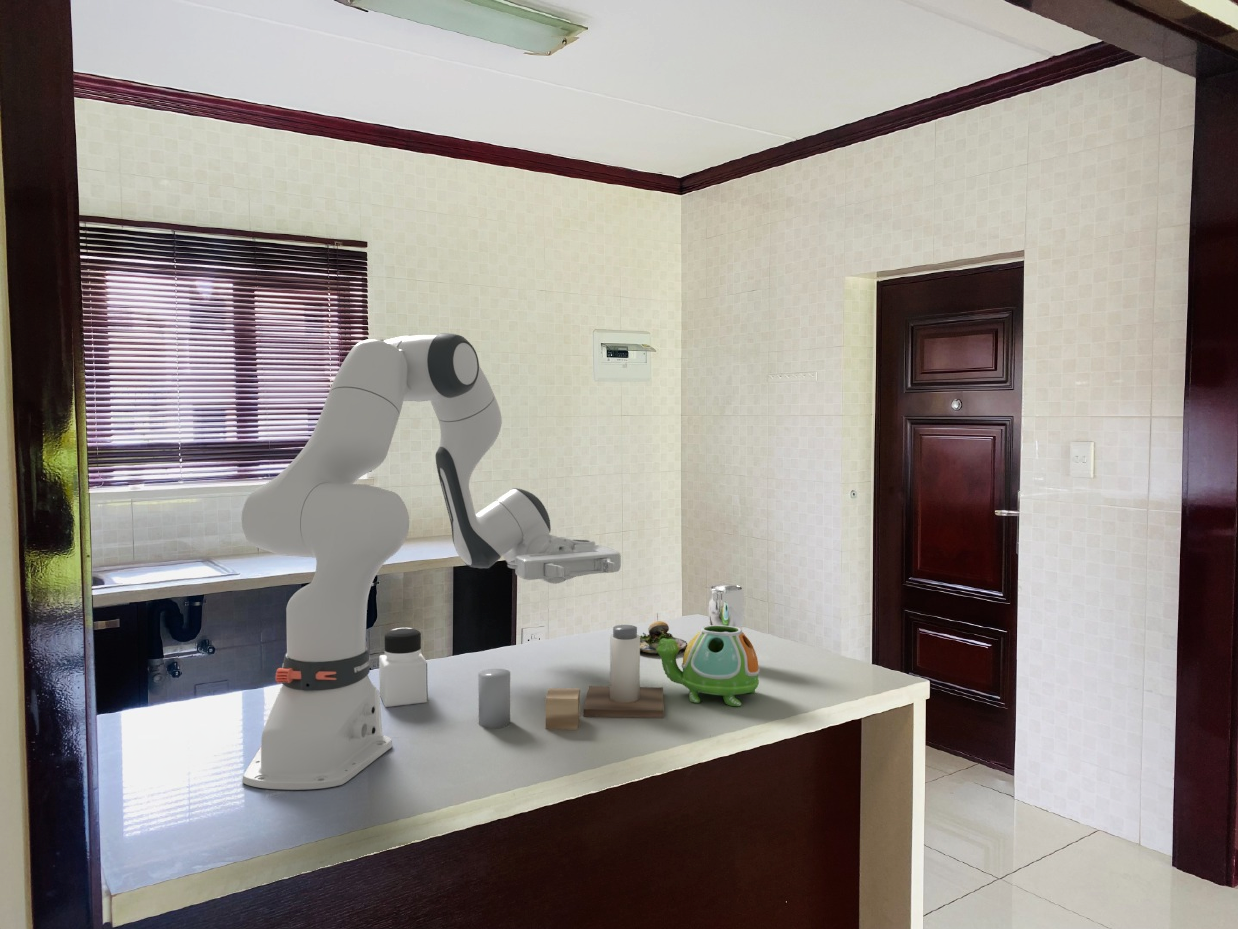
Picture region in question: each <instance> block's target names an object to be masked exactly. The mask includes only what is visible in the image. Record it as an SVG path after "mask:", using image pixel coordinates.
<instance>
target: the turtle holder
mask: <svg viewBox="0 0 1238 929" xmlns="http://www.w3.org/2000/svg"><path fill="white" fill-rule="evenodd" d="M742 629H743V628H742ZM742 629H741V628H738V627H733V626H724V625H710V624H709V625H708V624H707V625H705V626H703V627H701V628H700V631H699V632H698V633H697V634H695V635H694V637H692V638H691V640H690V641H689V642H688V643H687V648H686V649H684V654H683V657H682V663H681V668H682V670H681V669H680V667H679V666H678V662H677V658H678V655H679V652H680V650H679V648H678V646H677V643H676V641H675V640H674V639H665V638H662V639H661V640H660V642H659V645H658V648H656V651H657V653H656V654H657V655H658V656H659V657H660V658H661V664H662V668H663V671H664V675H666V677H667V678H668V679H669V680H670V682H673V683H676V684H679V685H682V686H684V687H685V688H686V689H688V690H689V691H688V698H689V701H690V702H691V703H693V704H694V703H695V704H699V703H701V698H700V697H699V693H702V694H708V695H713V696H723V697H722V698H723V700H724V703H725V704H726V705H728V706H731V707H740V706H742V702H741V701H740V700H739V699H738V698H736V696H735V695H744V694H755V693H756V689H758V686H759V683H760V680H759V674H760V671H761V670H760V669H761V668H760V666H759V659H758V657H757V656H758V655H757V654H756V650H755V648H754V645H753V644H752V642H751V640H750V639H749V638H748V637H747V635H746V634H745V633H744V632H743V630H742ZM723 632H729V633H723Z"/></svg>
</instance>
